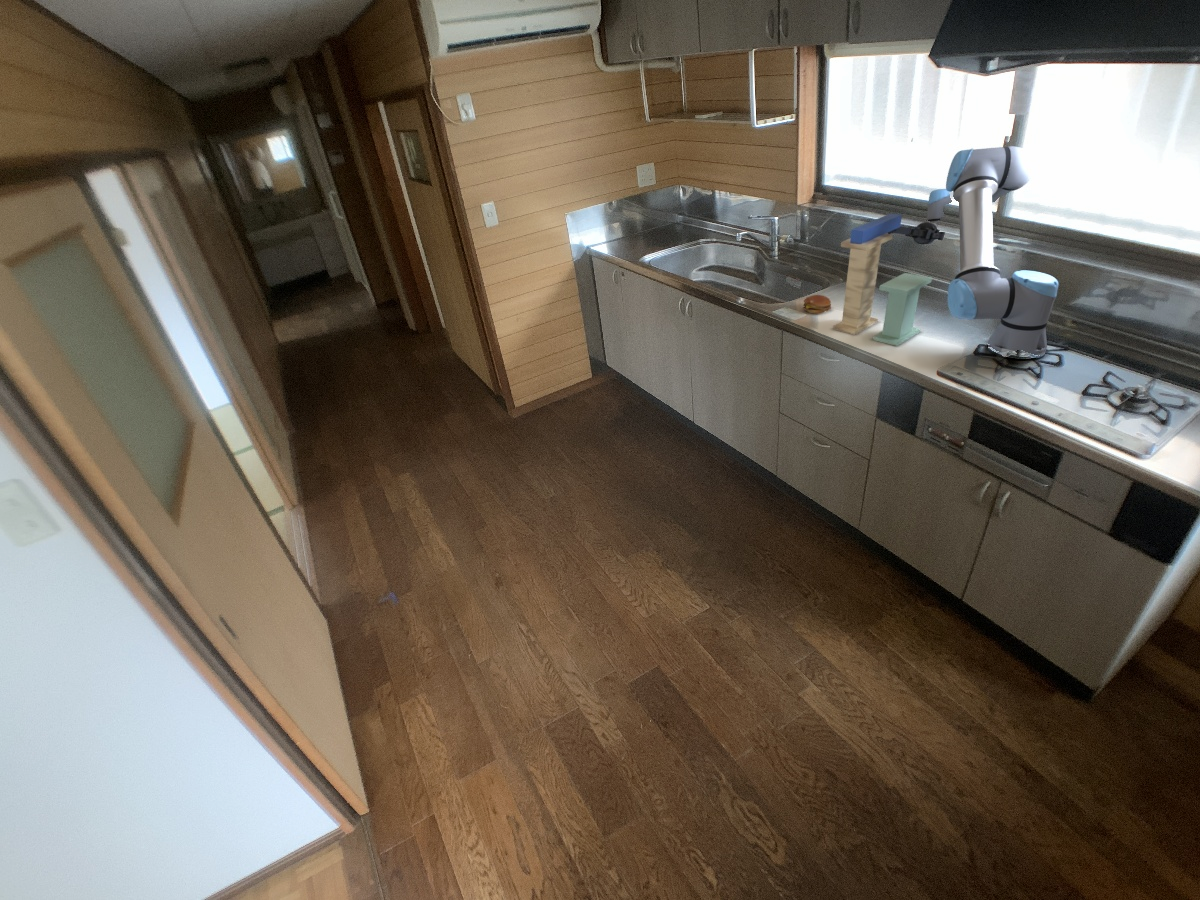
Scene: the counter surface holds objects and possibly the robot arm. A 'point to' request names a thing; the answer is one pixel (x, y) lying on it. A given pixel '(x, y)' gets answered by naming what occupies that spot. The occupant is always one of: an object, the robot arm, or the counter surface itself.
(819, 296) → the burger
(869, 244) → the tall pedestal
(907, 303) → the low pedestal
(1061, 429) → the counter surface
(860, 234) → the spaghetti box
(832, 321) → the counter surface
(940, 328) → the counter surface
